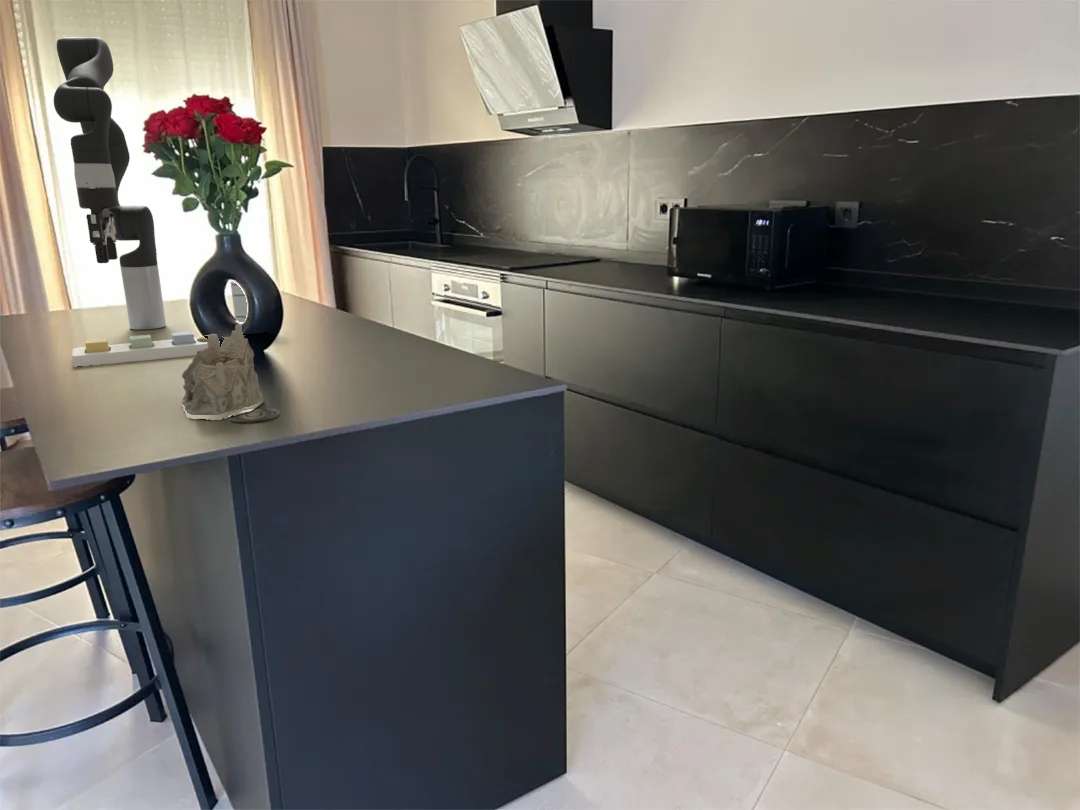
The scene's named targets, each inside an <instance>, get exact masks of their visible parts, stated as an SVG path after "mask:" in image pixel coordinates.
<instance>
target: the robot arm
mask: <svg viewBox="0 0 1080 810" xmlns="http://www.w3.org/2000/svg"><path fill="white" fill-rule="evenodd" d="M56 52H57V56H58V61H59V63H60V66H61V68H62V73H63V75H64V78H65V81H64V82H63V83H61V84H60V85H59V86H57V88H56V90H55V92H54V96H53V107H54V109H55V112H56V113H57V115H58V116H59V117H60V118H61V119H62V120H63V121H66V122H69V123H80V127H81V131H82V133H81V134H77V135H76V134H75V135H73V136H72V137H71V138H70V149H71V153H72V154H71V155H72V158H73V165H74V166H73V167H74V168H73V169H74V170H73V171H74V172H73V173H74V179H75V186H76V192H77V193H76V194H77V198H78V206H79V208H80V209H87V210H88V209H89V210H90V214H86V221H87V222H86V223H87V229H88V235H89V243H90V244H92V246H94V250H95V256H96V262H97V263H98V264H108V263H110V260H111V261H112V260H118V258H119V265H120V272H121V277H122V278H121V279H122V284H123V285H122V286H123V291H124V292H123V293H124V299H125V304H126V312H127V318H128V323H129V329H132V330H138V331H139V330H142V331H143V330H154V329H161V328H164V327H166V326H167V323H166V322H167V321H166V315H165V308H164V307H165V306H164V300H163V292H162V287H161V280H160V279H161V278H160V272H159V271H160V270H159V266H158V257H157V256H158V254H157V246H156V236H155V235H156V233H155V223H154V216H153V214H152V211H151V210H150V208H149V207H148V206H145V205H121V204H120V201H119V190H120V186H121V182H122V180H123V178H124V176H125V174H126V171H127V169H128V167H129V163H130V151H129V148H128V144H127V139H126V136H125V132H124V131H123V130H122V128H121V126H120V125H119V124H118V123H117V122H116V121H115V120H114V118H113V117H112V112H113V111H112V110H113V103H112V100H111V97H110V96H109V94H108V93H107V92H106V91H105V90H104V89H105V86H106V85H107V84H108V83H109V81H110V79H111V78H112V77H113V74H114V62H113V57H112V53H111V50H110V47H109V45H108V43H107V42H106V41H105V40H104V39H102V38H101V37H95V36H74V37H73V36H72V37H67V36H66V37H60V38H58V39H57V41H56ZM117 241H123V242H124V241H125V242H126V241H139V243H138V246H137V248H135V249H134V250H132V251H130V252H127V253H124V254H121V255H120V256H119V257H118V252H117V246H116V243H117Z"/></svg>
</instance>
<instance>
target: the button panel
mask: <svg viewBox="0 0 1080 810" xmlns="http://www.w3.org/2000/svg"><path fill="white" fill-rule="evenodd" d="M204 336H205V335H203V336H197V337H195V336H194V343H190V344H179V345H173V339H162V340H161V339H160V340H152V346H153V347H147V348H136V349H131V343H130V342H129V343H128V342H127V343H118V344H115V343H114V344H108V346H109V351H103V352H92V353H87V352H86V346H83V347H82V346H81V347H72V348H73V349H72V352H71V353H72V355H71V358H72V359H71V360H72V364H73V368H78V367H77V366H83V367H90V366H89V365H93V366H101V364H103V365H111V364H122V363H132V362H133V363H134V362H141V361H154V360H162V359H172V358H184V357H193V356H194V357H195V355H196V354H197V351H199V350H203V349H205V348H208V344H207V340H208V339H207V338H205V337H204Z"/></svg>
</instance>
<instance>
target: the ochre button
mask: <svg viewBox="0 0 1080 810" xmlns="http://www.w3.org/2000/svg"><path fill="white" fill-rule="evenodd" d="M84 341H85V343H84V344H85V345H84V347H86V352H87V353H92V352H103V351H109V346H108V345H109V341H108V338H106V337H105V338H97V339H96V338H94V339H85V340H84Z"/></svg>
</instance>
